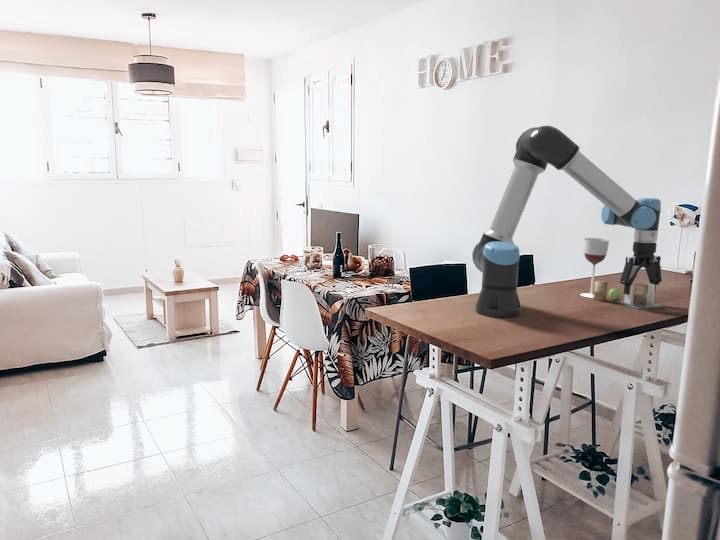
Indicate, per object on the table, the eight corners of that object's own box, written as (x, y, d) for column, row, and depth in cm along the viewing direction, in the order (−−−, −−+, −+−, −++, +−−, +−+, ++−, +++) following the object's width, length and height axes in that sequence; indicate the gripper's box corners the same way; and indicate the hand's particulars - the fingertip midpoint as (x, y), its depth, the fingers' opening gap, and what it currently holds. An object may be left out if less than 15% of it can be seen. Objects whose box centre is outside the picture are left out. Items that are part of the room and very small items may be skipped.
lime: (614, 301, 211) (615, 289, 210) (605, 298, 215) (606, 286, 214) (623, 300, 212) (625, 288, 212) (614, 297, 217) (616, 286, 216)
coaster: (637, 309, 199) (638, 307, 199) (614, 302, 210) (615, 300, 210) (662, 307, 203) (662, 305, 203) (638, 300, 213) (638, 298, 213)
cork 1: (599, 301, 210) (600, 283, 209) (590, 298, 214) (592, 281, 213) (608, 300, 212) (610, 282, 210) (600, 298, 216) (602, 280, 214)
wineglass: (598, 293, 224) (604, 238, 220) (606, 298, 215) (612, 241, 211) (576, 292, 225) (581, 237, 221) (583, 297, 216) (588, 240, 212)
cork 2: (639, 304, 203) (641, 285, 202) (630, 302, 208) (632, 283, 206) (649, 304, 205) (651, 285, 204) (639, 301, 209) (641, 282, 208)
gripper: (628, 243, 195) (622, 306, 199) (677, 241, 202) (670, 302, 206) (612, 241, 202) (606, 301, 206) (660, 239, 209) (654, 298, 213)
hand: (638, 302), depth 206 cm, fingers open, 9 cm apart
